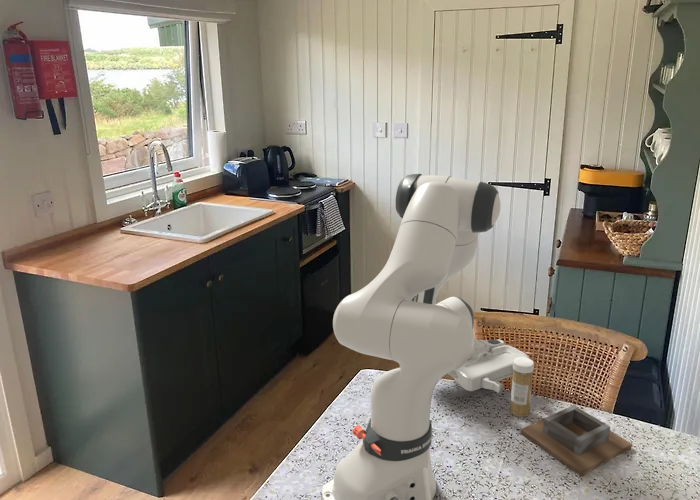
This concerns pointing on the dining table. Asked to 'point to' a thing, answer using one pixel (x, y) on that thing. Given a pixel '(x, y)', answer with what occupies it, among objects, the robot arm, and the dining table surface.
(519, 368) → the sprinkles bottle
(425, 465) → the robot arm
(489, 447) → the dining table surface
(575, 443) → the socket base
